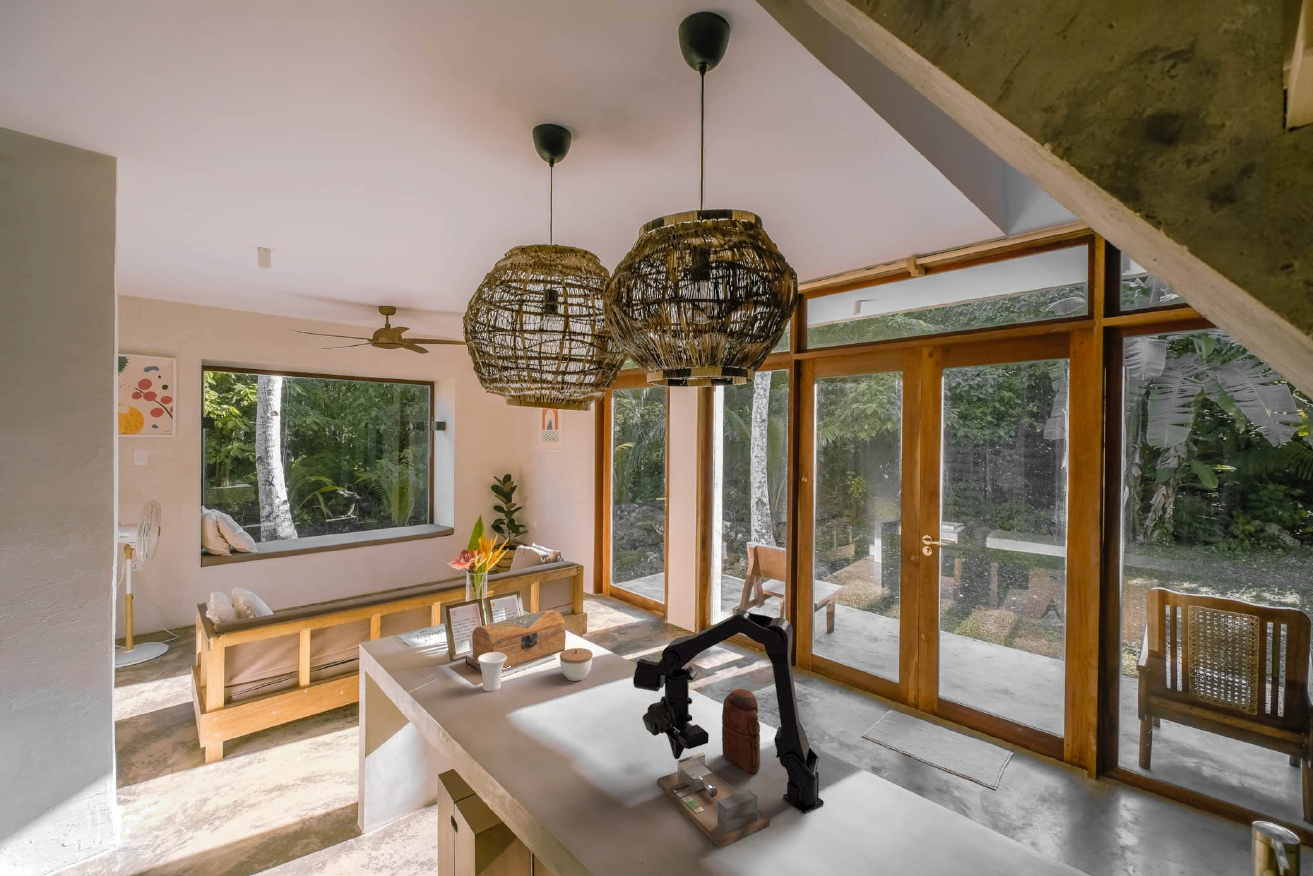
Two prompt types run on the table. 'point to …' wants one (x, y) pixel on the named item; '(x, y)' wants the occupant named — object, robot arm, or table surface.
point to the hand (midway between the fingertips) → (676, 758)
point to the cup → (492, 669)
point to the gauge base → (717, 809)
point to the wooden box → (522, 637)
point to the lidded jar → (576, 663)
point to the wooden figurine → (741, 730)
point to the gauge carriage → (695, 774)
